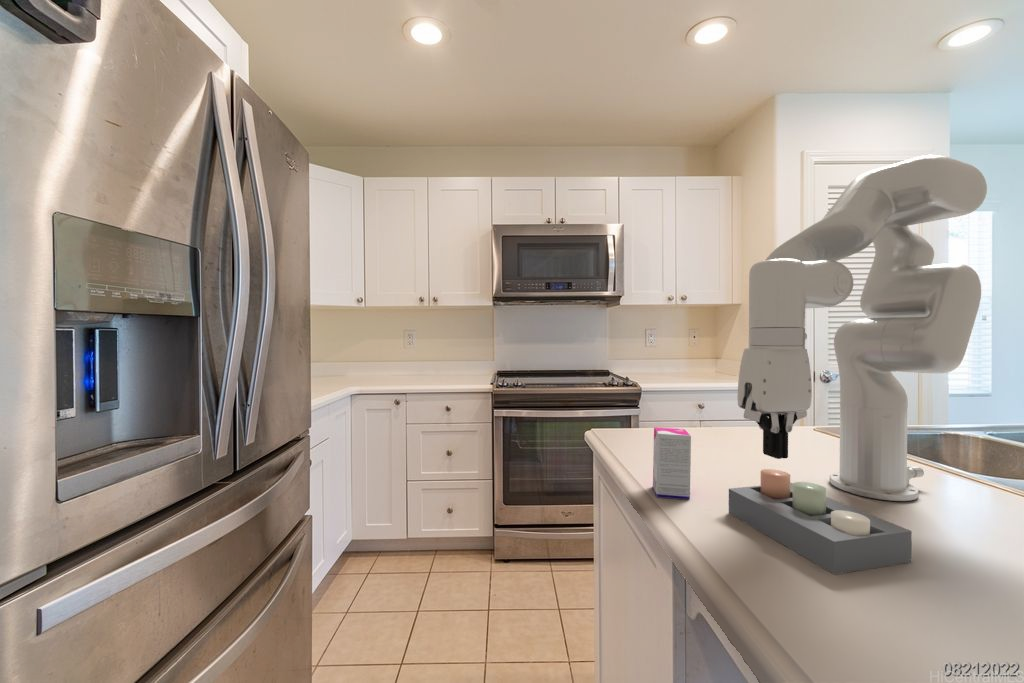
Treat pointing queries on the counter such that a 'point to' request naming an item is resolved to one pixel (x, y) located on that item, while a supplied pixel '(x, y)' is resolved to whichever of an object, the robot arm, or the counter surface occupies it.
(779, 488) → the terracotta button
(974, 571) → the counter surface
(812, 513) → the sage button
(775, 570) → the counter surface
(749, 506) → the tray
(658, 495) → the supplement box
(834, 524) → the cream button
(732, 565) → the counter surface
